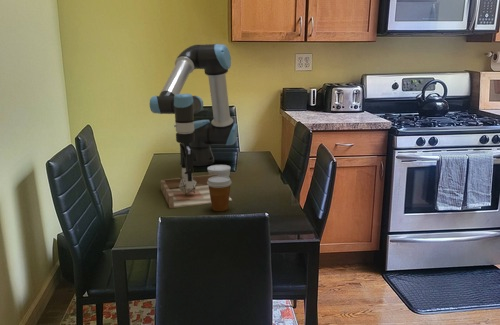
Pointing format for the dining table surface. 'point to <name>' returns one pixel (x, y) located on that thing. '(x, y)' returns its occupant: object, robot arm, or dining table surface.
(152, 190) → the dining table surface
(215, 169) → the ramekin
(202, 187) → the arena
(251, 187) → the dining table surface
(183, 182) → the game die
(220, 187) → the disposable coffee cup
